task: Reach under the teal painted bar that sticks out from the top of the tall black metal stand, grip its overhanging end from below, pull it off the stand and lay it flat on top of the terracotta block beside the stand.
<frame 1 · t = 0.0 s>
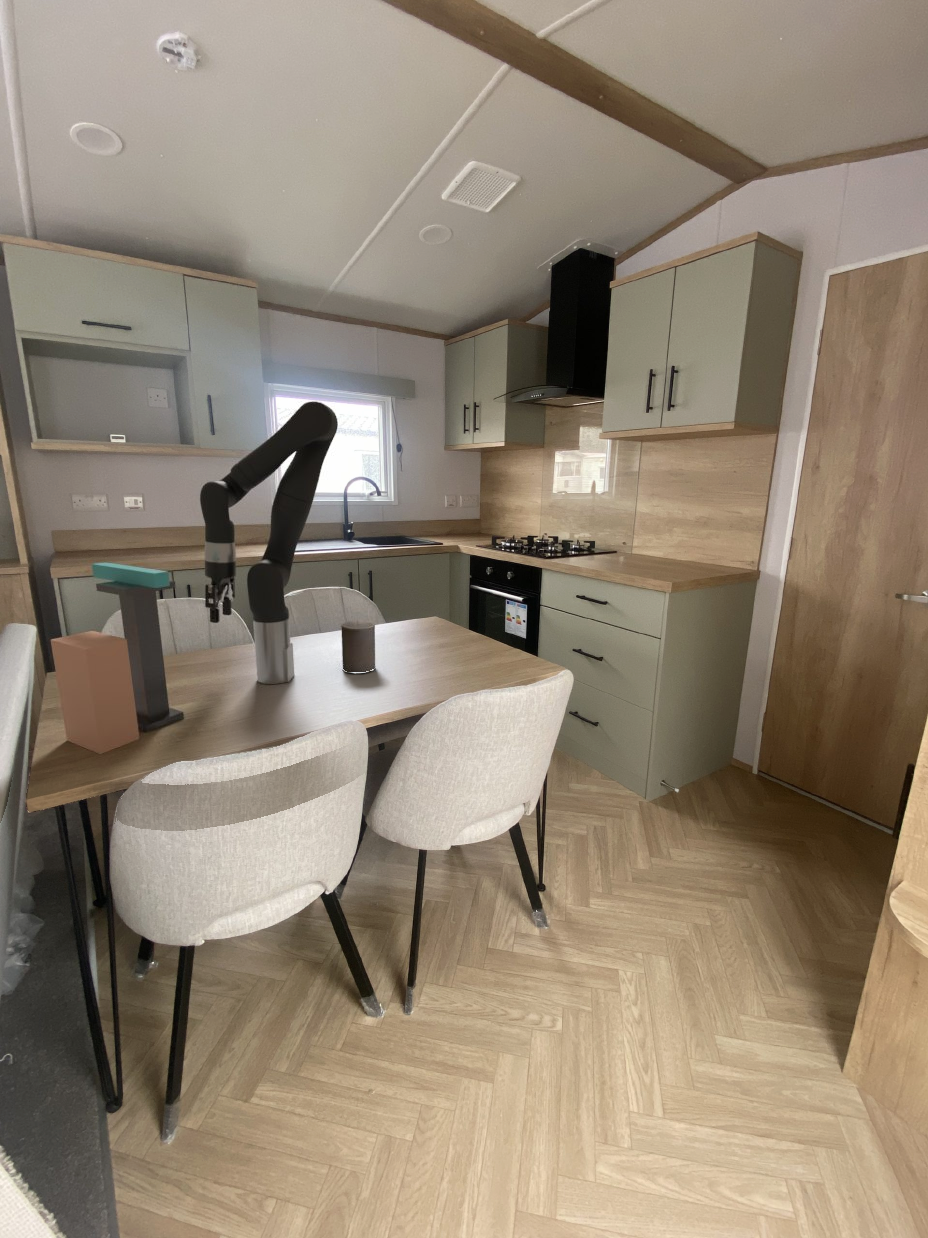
hand: (221, 618, 150), 17 cm above the table, fingers open, 8 cm apart
teal bar: (130, 581, 120), point 32 cm above the table, touching stand
stand: (153, 720, 126), on the table
base block: (103, 739, 117), on the table
pillar candle: (359, 669, 164), on the table
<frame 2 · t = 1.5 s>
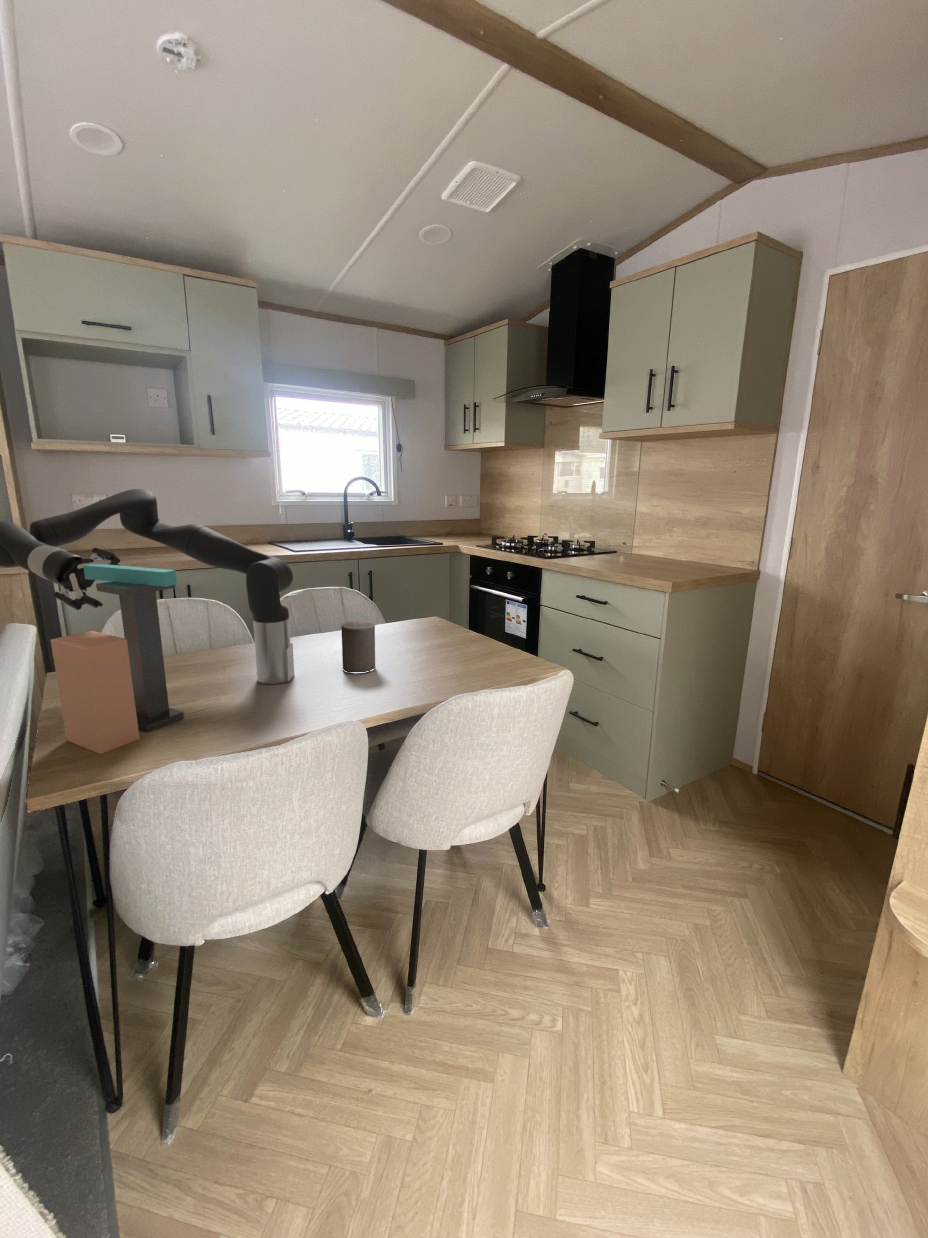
hand: (112, 588, 121), 30 cm above the table, fingers open, 8 cm apart
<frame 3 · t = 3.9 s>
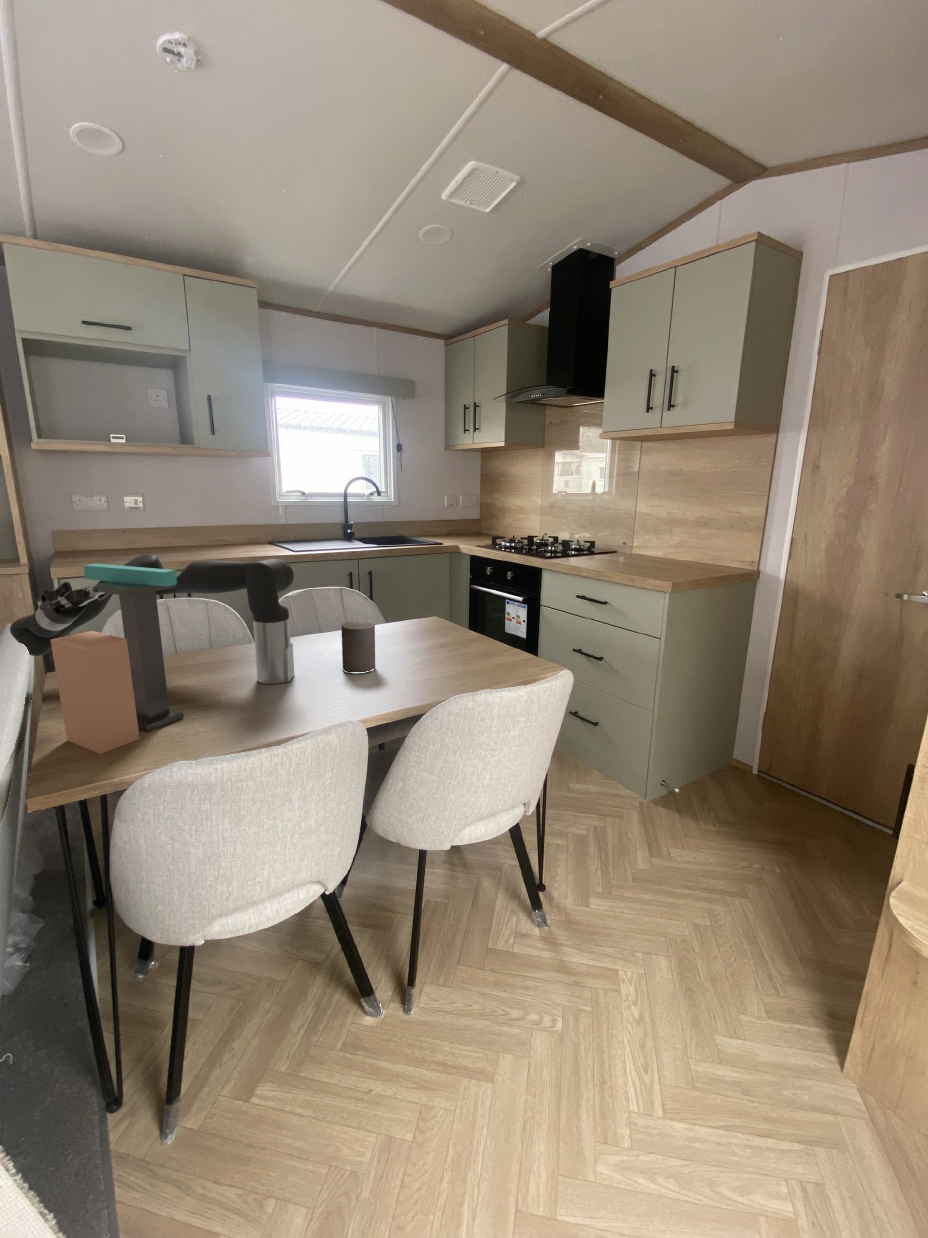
hand: (89, 582, 126), 30 cm above the table, fingers open, 8 cm apart
nothing on the table moved.
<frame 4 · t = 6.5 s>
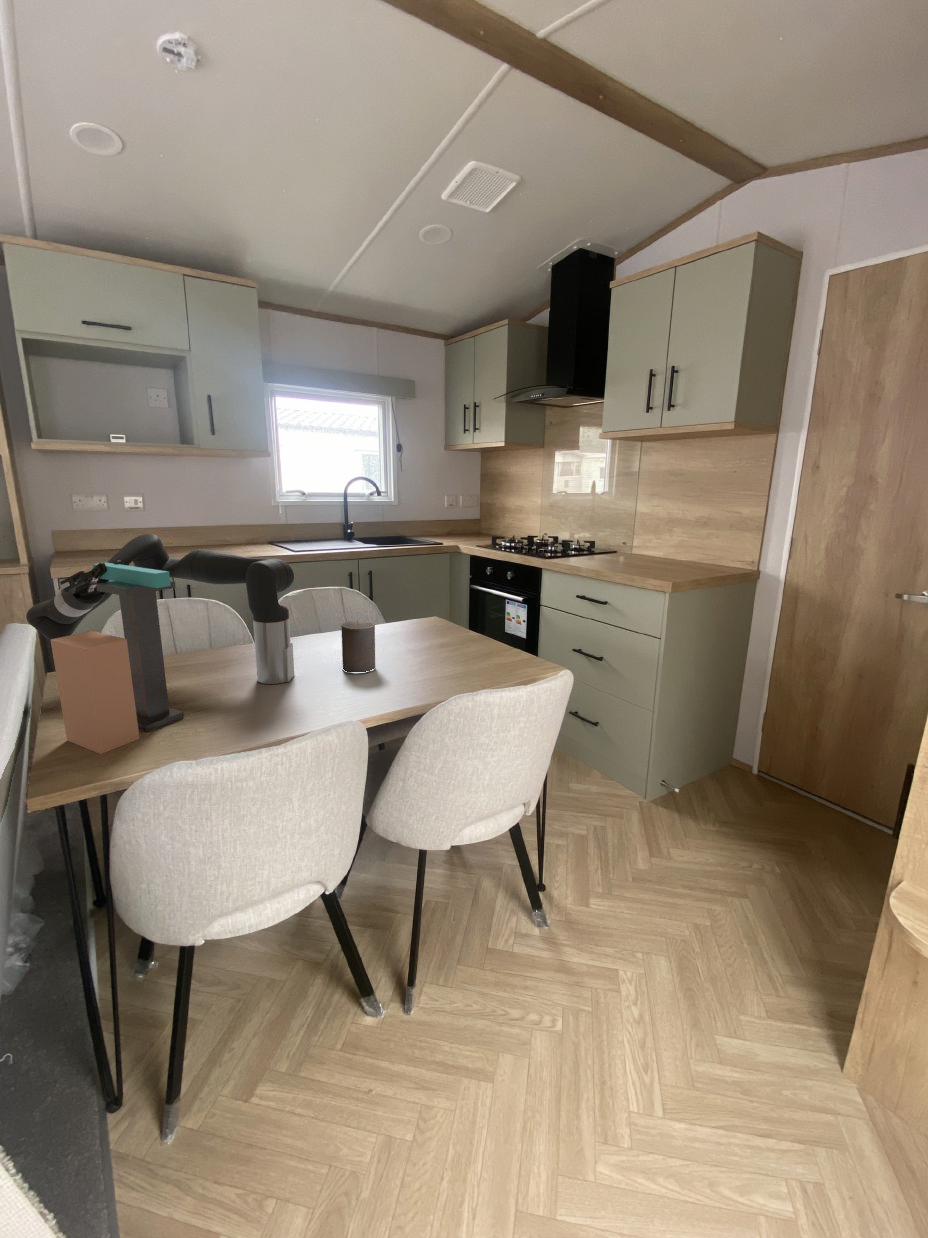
hand: (112, 565, 122), 35 cm above the table, fingers closed on teal bar, 3 cm apart
teal bar: (131, 581, 120), point 32 cm above the table, touching gripper, stand
everything else where it was.
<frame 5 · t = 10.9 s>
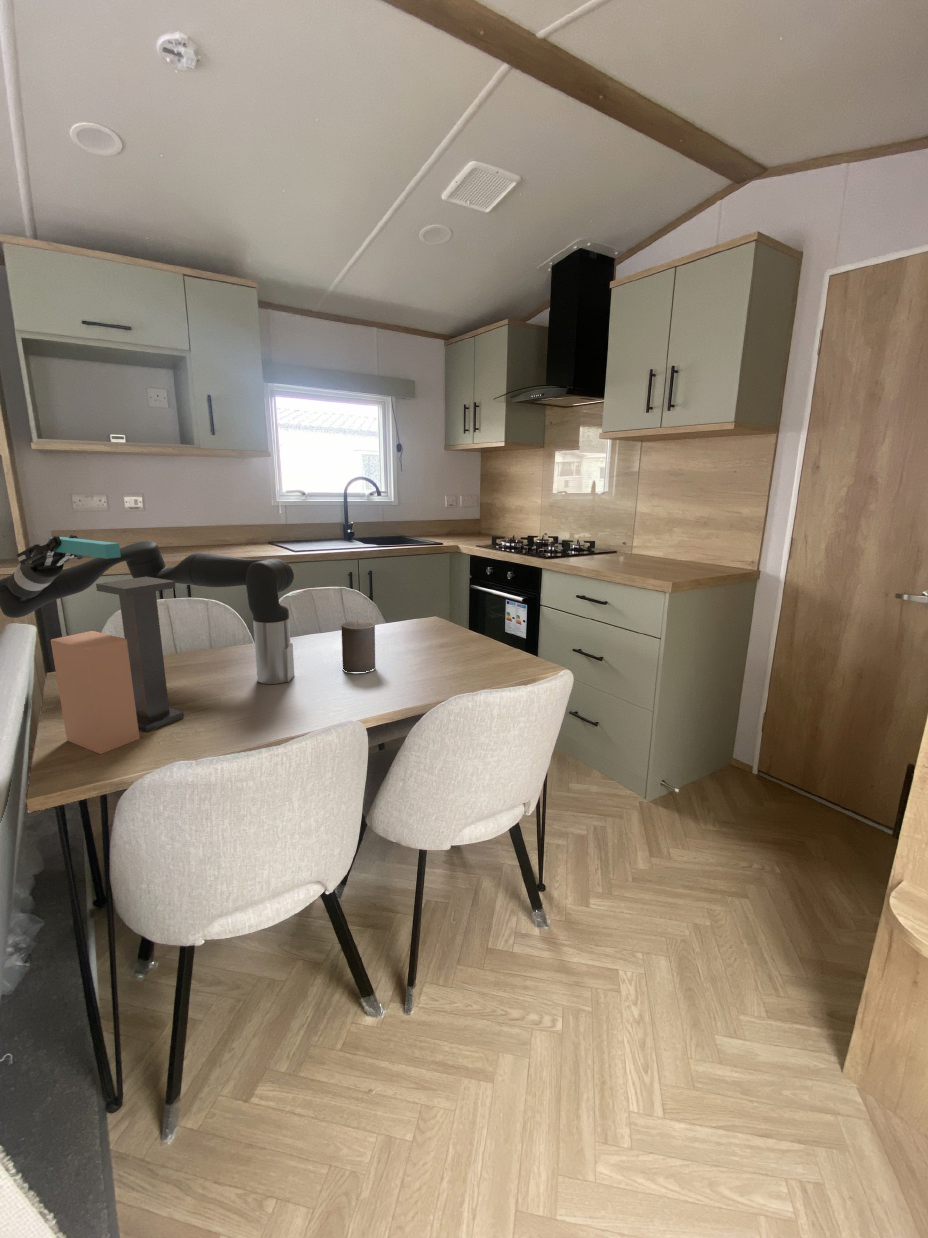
hand: (66, 538, 126), 40 cm above the table, fingers closed on teal bar, 3 cm apart
teal bar: (84, 553, 124), point 37 cm above the table, touching gripper
everything else where it was.
when the fingers open (27 cm above the table, at t = 15.3 s): teal bar drops 2 cm, resting on base block.
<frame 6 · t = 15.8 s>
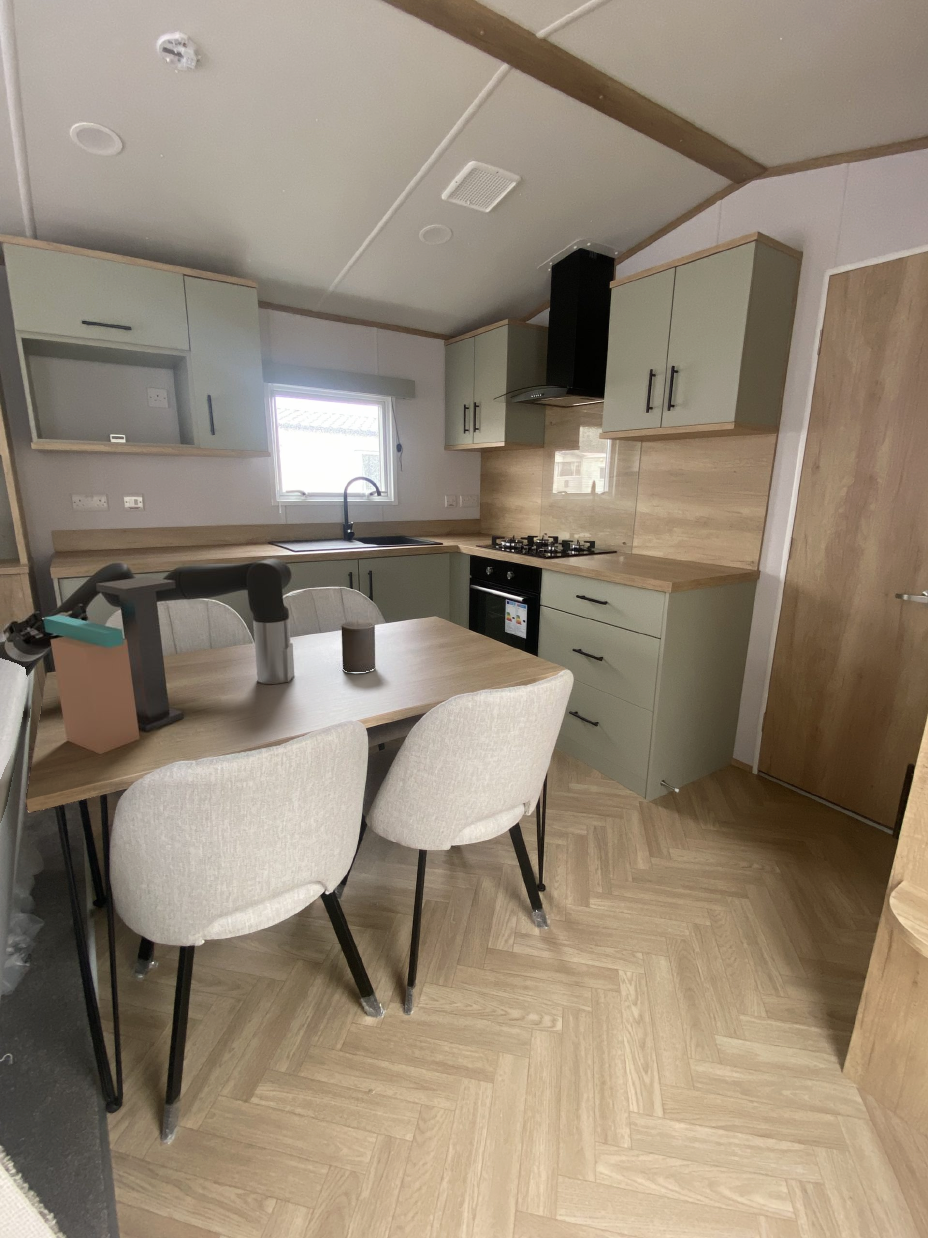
hand: (61, 612, 114), 26 cm above the table, fingers open, 8 cm apart
teal bar: (83, 637, 113), point 22 cm above the table, touching base block
everything else where it was.
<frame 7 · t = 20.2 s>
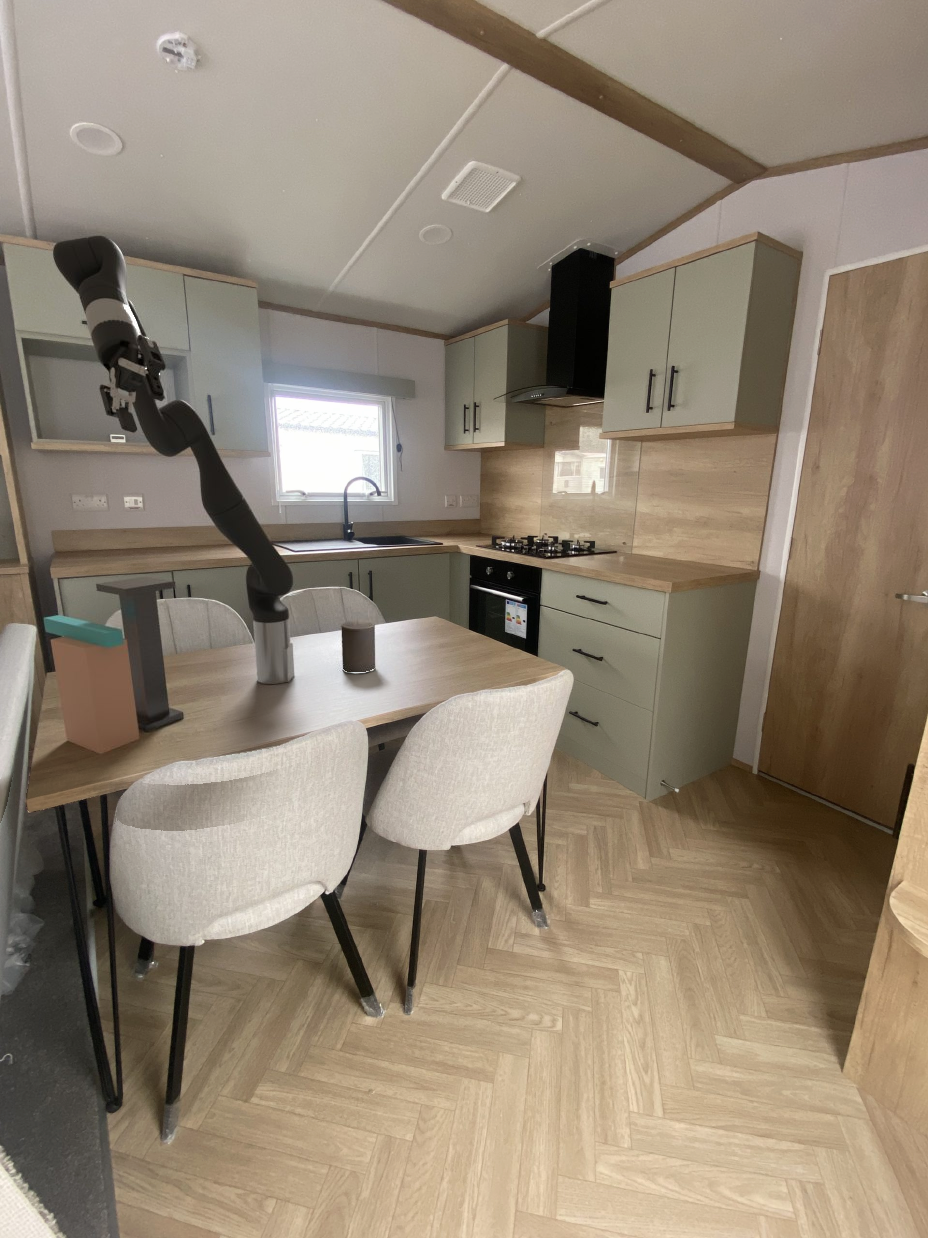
hand: (143, 414, 91), 64 cm above the table, fingers open, 8 cm apart
nothing on the table moved.
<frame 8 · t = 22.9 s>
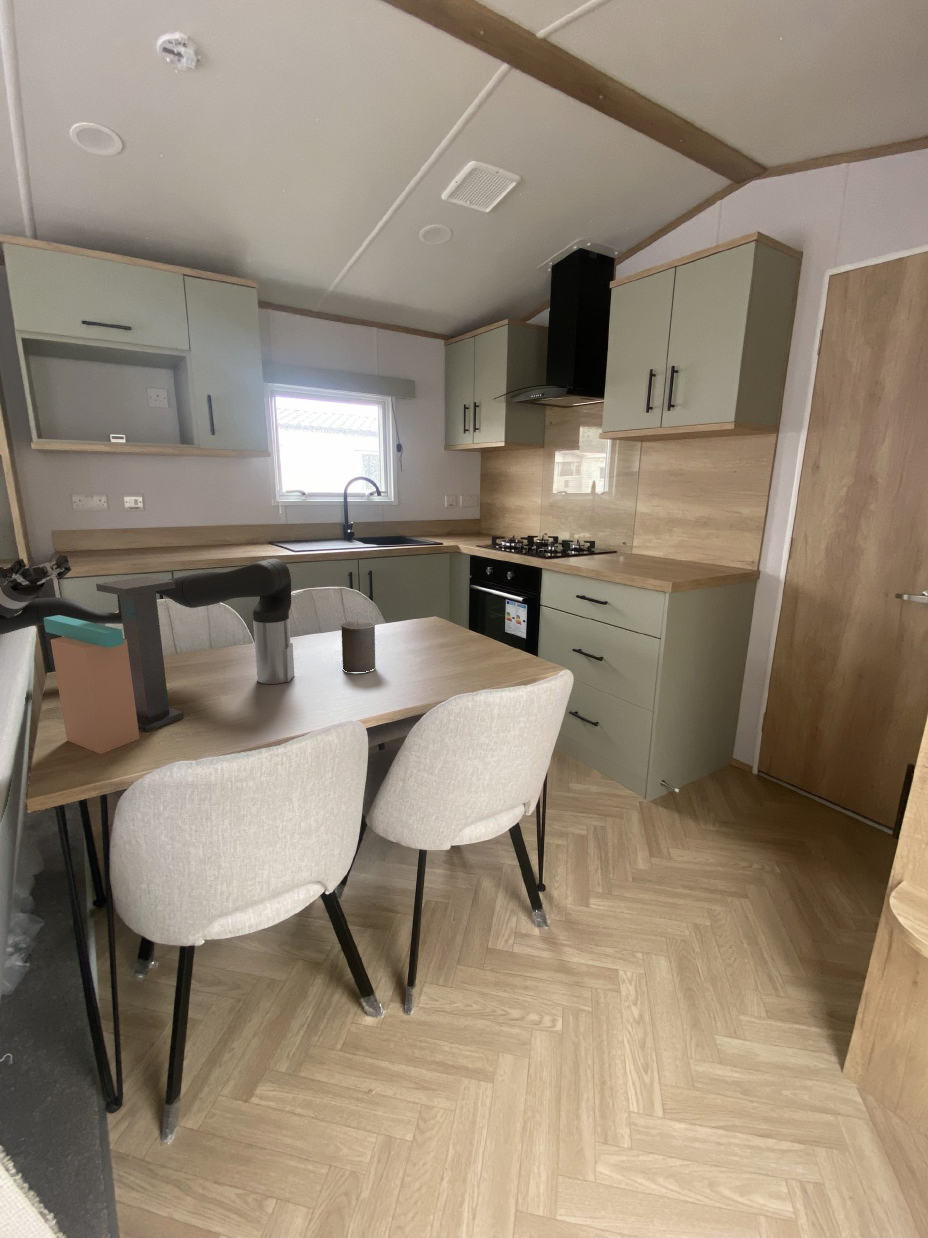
hand: (44, 560, 126), 35 cm above the table, fingers open, 8 cm apart
nothing on the table moved.
at the end: teal bar inside the target area on the base block (0.9 cm from its centre), point 22.0 cm above the base block's base; teal bar touching base block; teal bar tilted 0° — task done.
